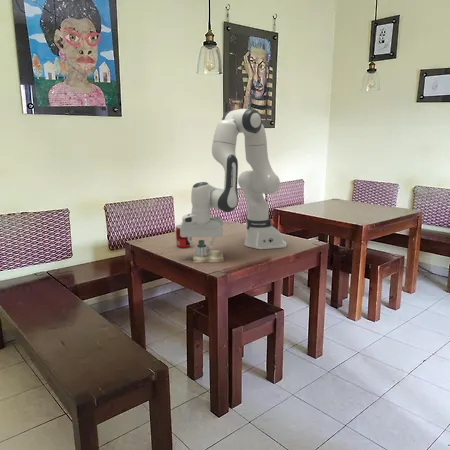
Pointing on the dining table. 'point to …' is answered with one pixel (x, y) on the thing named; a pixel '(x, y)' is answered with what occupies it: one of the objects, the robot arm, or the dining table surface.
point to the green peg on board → (212, 257)
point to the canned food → (181, 239)
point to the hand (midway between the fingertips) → (201, 245)
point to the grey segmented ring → (201, 251)
